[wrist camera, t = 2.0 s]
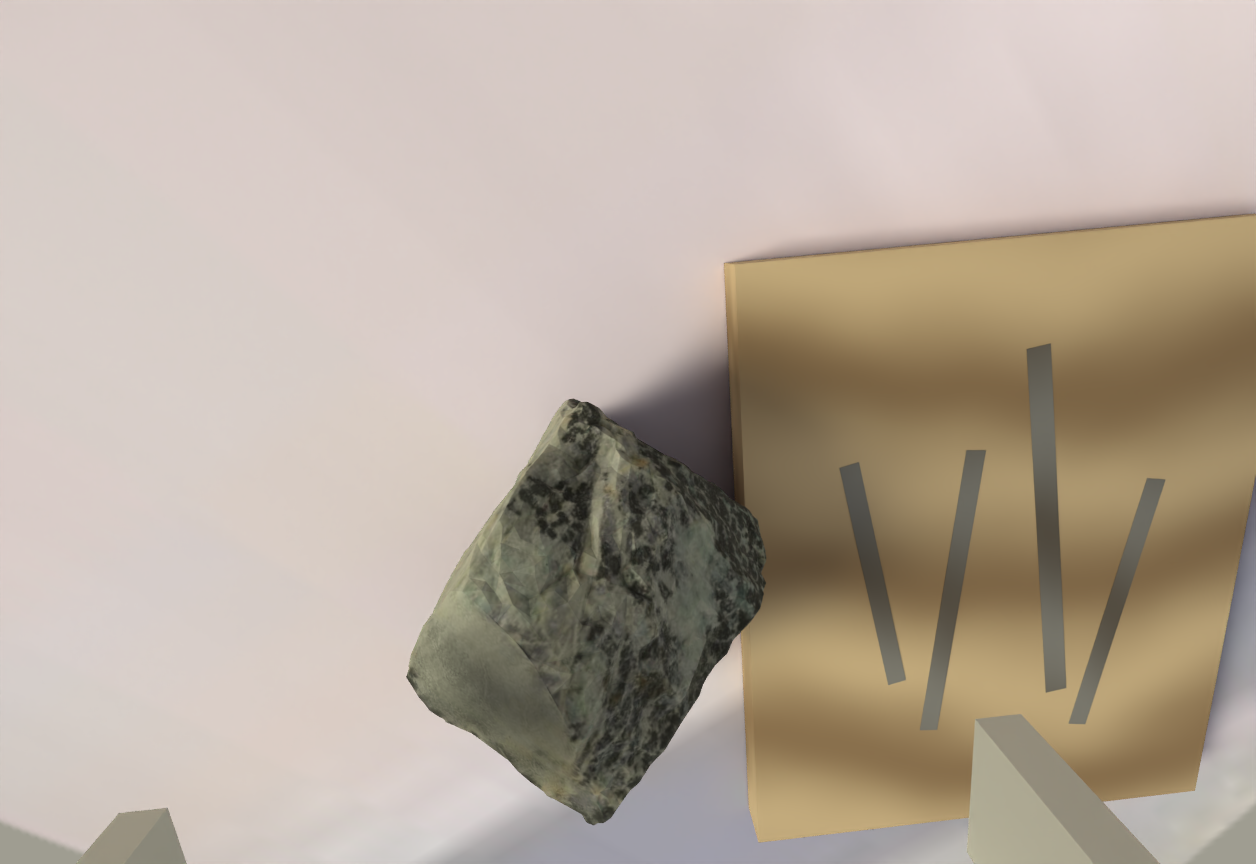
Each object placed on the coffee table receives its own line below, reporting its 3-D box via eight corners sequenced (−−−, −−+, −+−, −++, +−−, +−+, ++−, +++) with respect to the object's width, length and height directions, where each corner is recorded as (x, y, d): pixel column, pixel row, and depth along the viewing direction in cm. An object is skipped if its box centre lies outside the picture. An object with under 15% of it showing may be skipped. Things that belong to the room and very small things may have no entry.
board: (724, 263, 19) (735, 264, 18) (1253, 213, 19) (1307, 211, 18) (748, 807, 25) (759, 842, 23) (1160, 759, 25) (1195, 790, 24)
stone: (721, 953, 13) (491, 526, 10) (439, 810, 19) (252, 531, 16) (865, 621, 19) (754, 308, 16) (618, 600, 26) (508, 374, 23)
